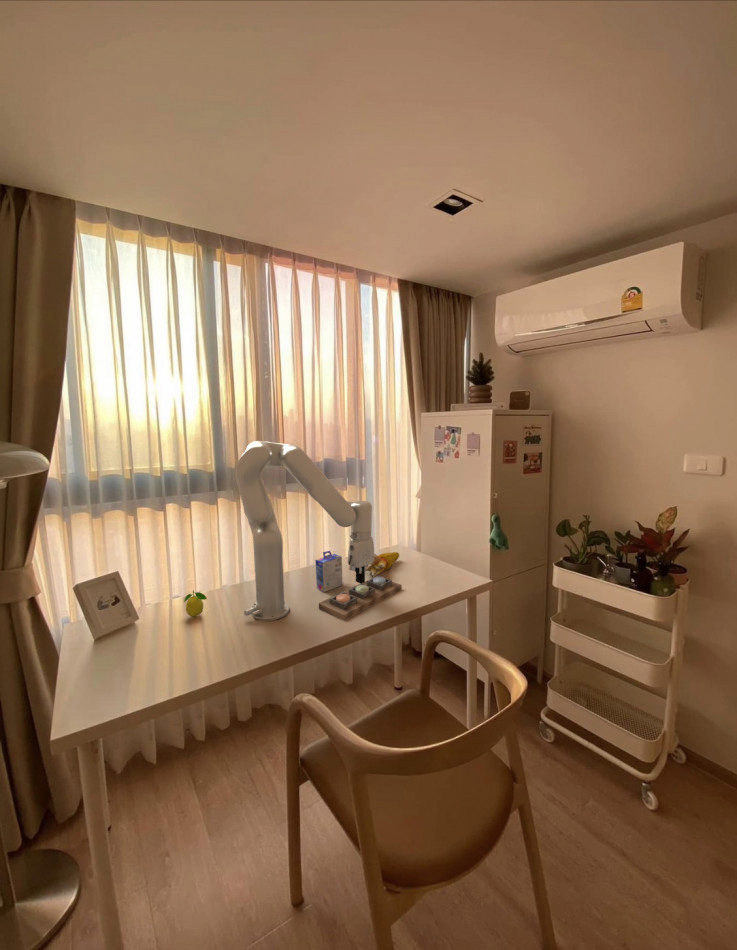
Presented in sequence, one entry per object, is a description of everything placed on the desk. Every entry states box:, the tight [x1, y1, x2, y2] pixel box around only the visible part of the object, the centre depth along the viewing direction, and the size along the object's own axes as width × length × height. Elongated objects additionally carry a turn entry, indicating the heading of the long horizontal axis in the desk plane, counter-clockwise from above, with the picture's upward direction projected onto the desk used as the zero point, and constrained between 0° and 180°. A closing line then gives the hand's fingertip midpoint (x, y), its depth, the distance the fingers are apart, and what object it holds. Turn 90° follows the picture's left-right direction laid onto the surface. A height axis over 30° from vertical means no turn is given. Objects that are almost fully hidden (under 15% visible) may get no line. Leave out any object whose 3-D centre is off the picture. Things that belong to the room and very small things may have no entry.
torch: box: [366, 551, 400, 578], centre depth 181 cm, size 8×8×25 cm
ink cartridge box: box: [314, 550, 344, 593], centre depth 163 cm, size 10×6×14 cm, turn 133°
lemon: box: [183, 589, 207, 618], centre depth 140 cm, size 7×6×10 cm
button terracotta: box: [336, 594, 350, 603], centre depth 146 cm, size 5×5×2 cm
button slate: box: [373, 576, 386, 585], centre depth 160 cm, size 5×5×2 cm
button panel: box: [318, 575, 403, 621], centre depth 153 cm, size 32×13×4 cm, turn 138°
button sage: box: [355, 584, 369, 594], centre depth 153 cm, size 5×5×2 cm
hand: (360, 582), depth 152 cm, fingers closed
